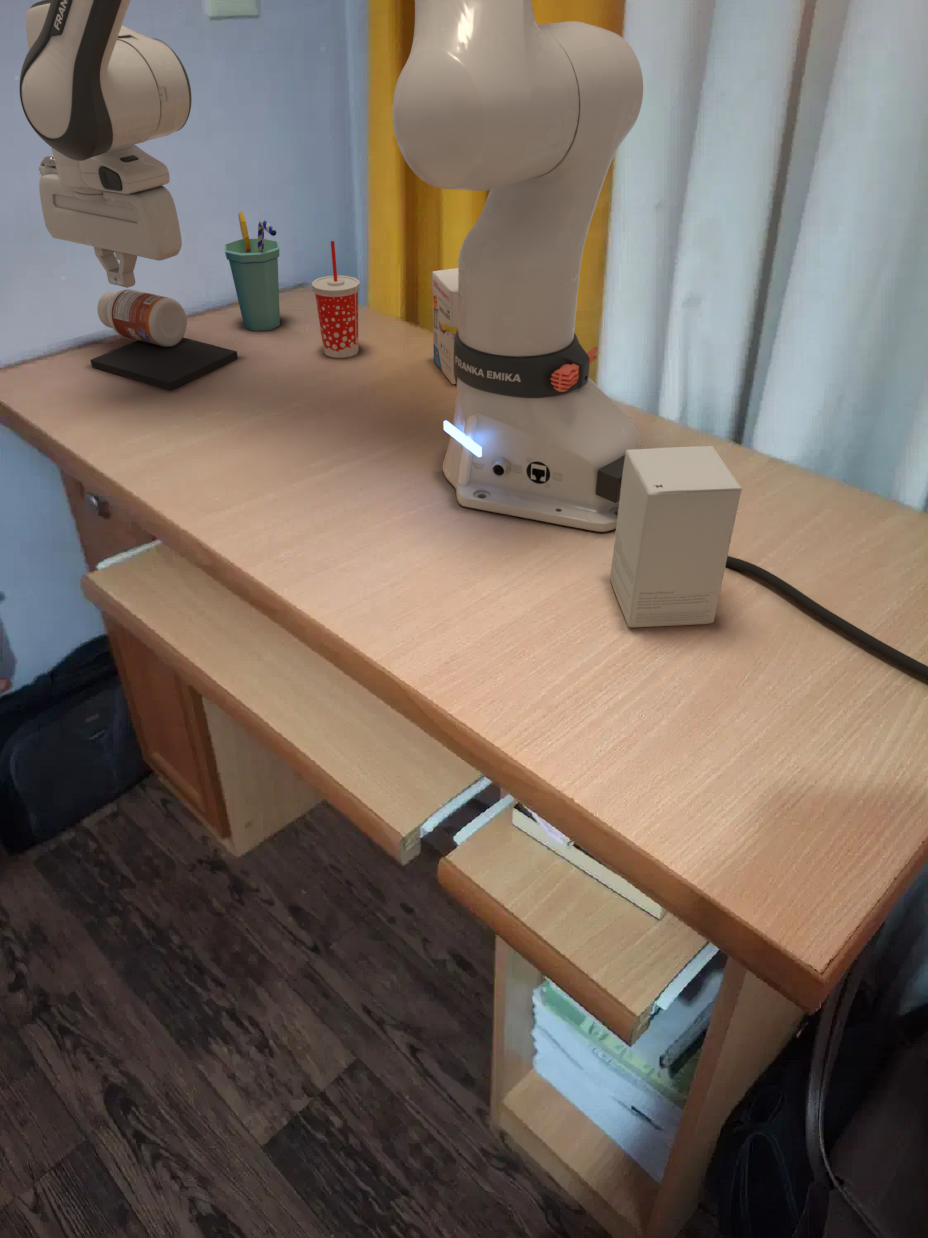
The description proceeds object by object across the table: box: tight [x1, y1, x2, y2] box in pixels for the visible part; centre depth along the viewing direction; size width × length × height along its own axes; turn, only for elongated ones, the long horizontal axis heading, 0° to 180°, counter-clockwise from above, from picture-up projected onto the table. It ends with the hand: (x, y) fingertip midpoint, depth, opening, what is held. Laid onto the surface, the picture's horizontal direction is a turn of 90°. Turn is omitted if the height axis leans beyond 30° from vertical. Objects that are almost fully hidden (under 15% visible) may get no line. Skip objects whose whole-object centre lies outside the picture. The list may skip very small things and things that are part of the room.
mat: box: [89, 336, 239, 391], centre depth 118 cm, size 14×12×1 cm
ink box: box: [431, 267, 458, 385], centre depth 113 cm, size 9×8×12 cm
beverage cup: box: [311, 240, 361, 359], centre depth 117 cm, size 6×6×14 cm
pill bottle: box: [96, 288, 188, 347], centre depth 120 cm, size 6×6×11 cm
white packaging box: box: [609, 445, 743, 628], centre depth 73 cm, size 7×7×13 cm
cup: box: [224, 211, 281, 332], centre depth 124 cm, size 14×8×15 cm, turn 35°
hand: (122, 284), depth 115 cm, fingers closed
